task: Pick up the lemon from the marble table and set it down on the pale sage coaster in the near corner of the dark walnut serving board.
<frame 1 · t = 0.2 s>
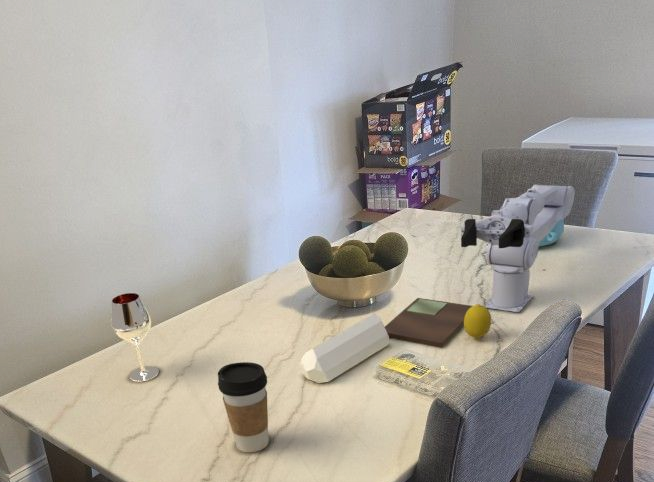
hand: (481, 242, 137), 21 cm above the table, tool horizontal, fingers open, 7 cm apart
coffee cup: (252, 444, 124), on the table
decorative pot: (530, 243, 193), on the table
crystal: (346, 361, 146), on the table
board: (429, 323, 157), on the table
wineglass: (144, 375, 151), on the table
lemon: (476, 339, 148), on the table
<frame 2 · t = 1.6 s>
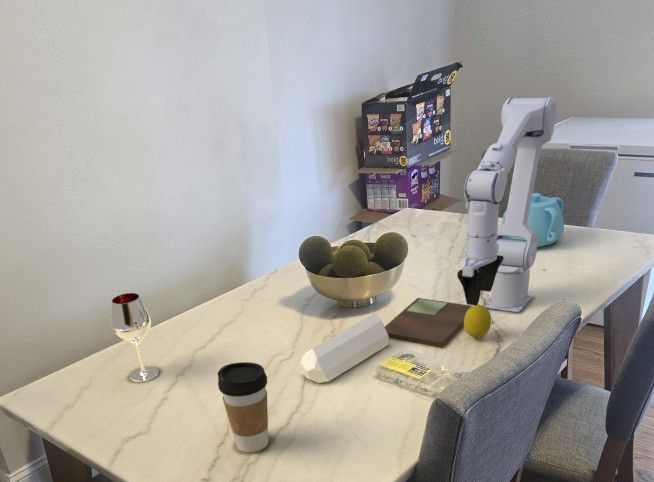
hand: (479, 297, 143), 9 cm above the table, tool pointing down, fingers open, 7 cm apart
nothing on the table moved.
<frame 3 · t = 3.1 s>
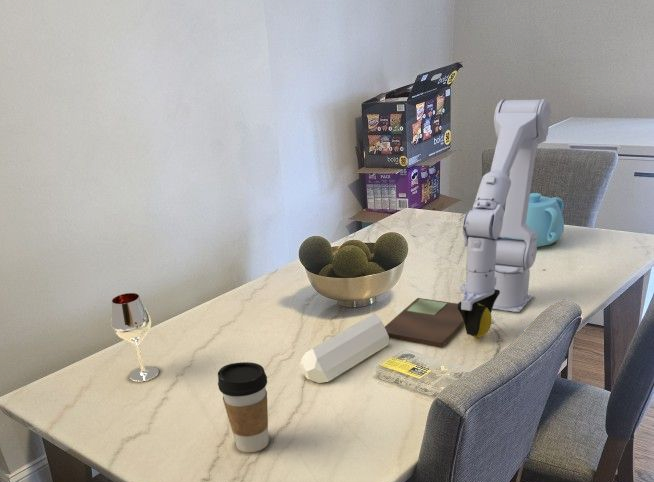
hand: (477, 328, 147), 2 cm above the table, tool pointing down, fingers closed on lemon, 5 cm apart
lemon: (476, 339, 148), on the table, touching gripper
everything else where it was.
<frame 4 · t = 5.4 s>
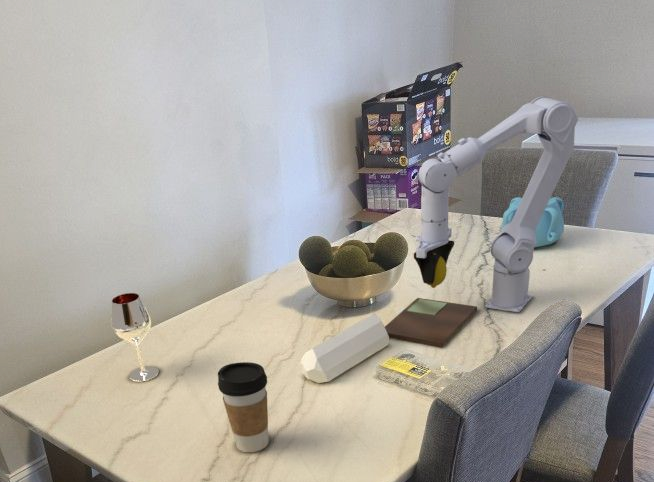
hand: (433, 278, 155), 9 cm above the table, tool pointing down, fingers closed on lemon, 5 cm apart
lemon: (433, 288, 157), point 7 cm above the table, touching gripper
everything else where it was.
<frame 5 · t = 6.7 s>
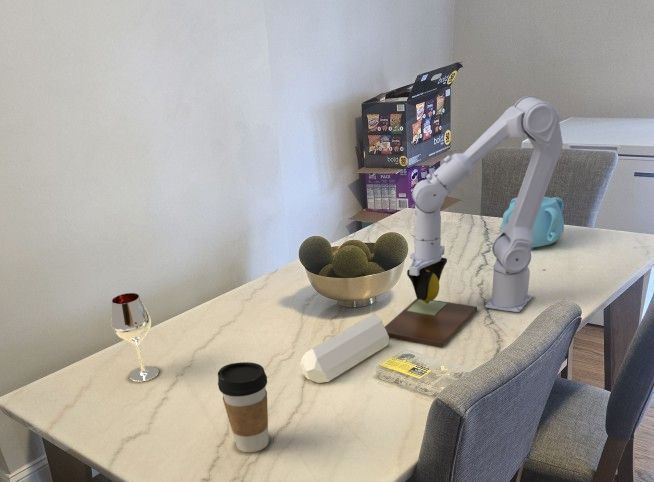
hand: (427, 294, 160), 5 cm above the table, tool pointing down, fingers closed on lemon, 5 cm apart
lemon: (426, 304, 161), point 2 cm above the table, touching gripper
everything else where it was.
when the fingers open (4 cm above the table, at t = 7.5 s): lemon stays where it is, resting on board.
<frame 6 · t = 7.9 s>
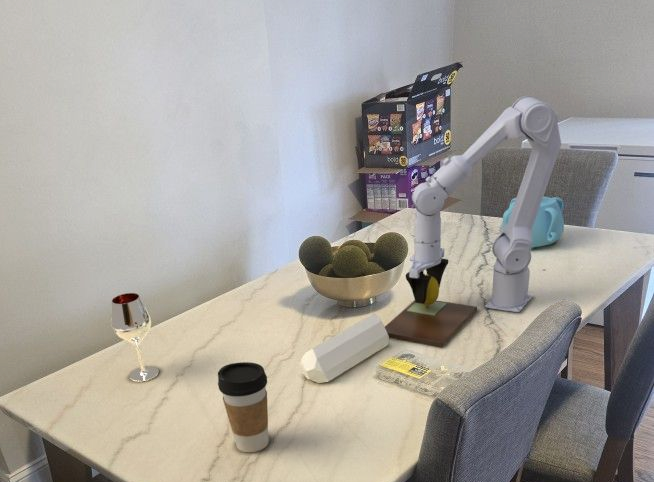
hand: (427, 296, 160), 4 cm above the table, tool pointing down, fingers open, 7 cm apart
lemon: (426, 307, 162), point 1 cm above the table, touching board
everything else where it was.
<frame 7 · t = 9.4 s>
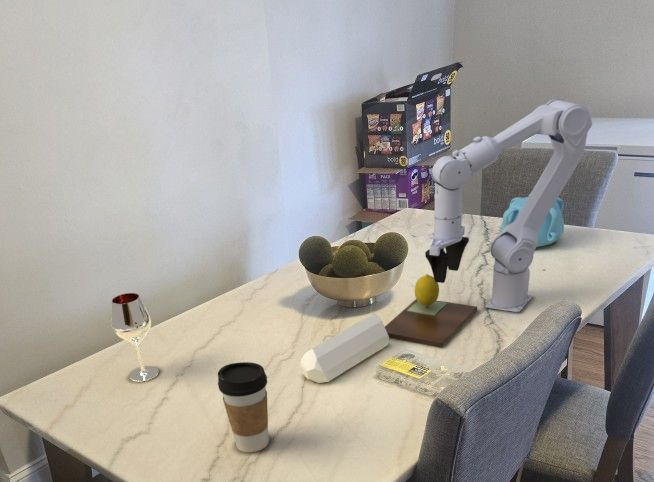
hand: (446, 275, 155), 9 cm above the table, tool pointing down, fingers open, 7 cm apart
nothing on the table moved.
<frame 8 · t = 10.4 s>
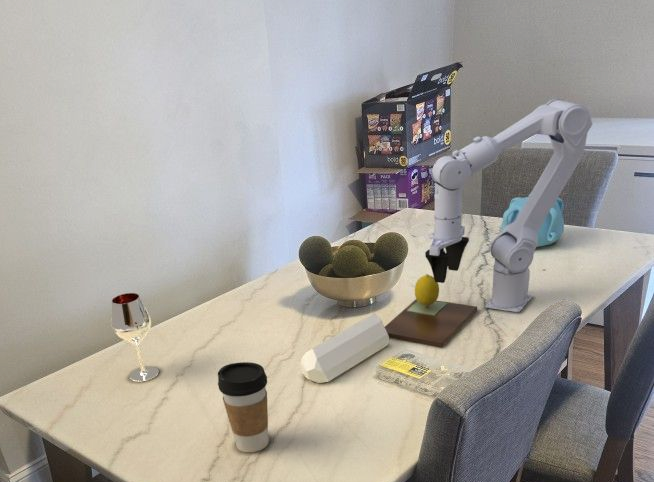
hand: (446, 275, 155), 9 cm above the table, tool pointing down, fingers open, 7 cm apart
nothing on the table moved.
at the end: lemon inside the target area (0.1 cm from its centre), point 1.2 cm above the table; the gripper is holding nothing; lemon touching board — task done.
